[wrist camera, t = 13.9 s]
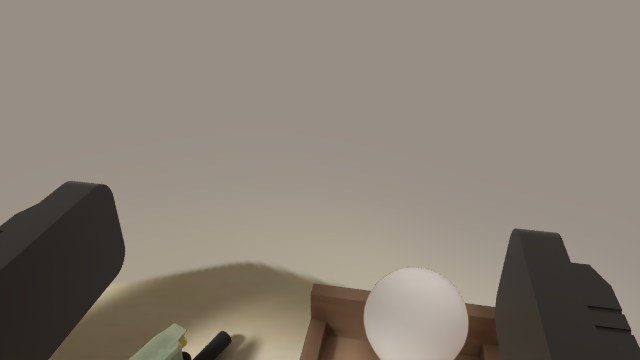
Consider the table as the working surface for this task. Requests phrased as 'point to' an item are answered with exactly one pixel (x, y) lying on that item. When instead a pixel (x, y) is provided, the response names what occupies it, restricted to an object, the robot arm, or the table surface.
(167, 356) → the handheld radio
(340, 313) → the stand
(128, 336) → the table surface
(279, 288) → the table surface
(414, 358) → the lightbulb
